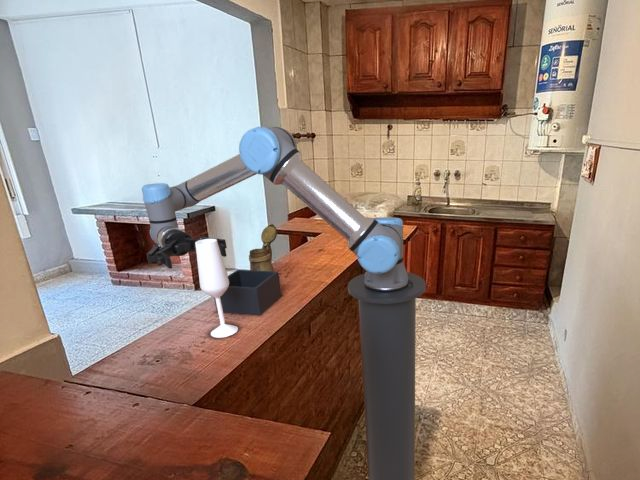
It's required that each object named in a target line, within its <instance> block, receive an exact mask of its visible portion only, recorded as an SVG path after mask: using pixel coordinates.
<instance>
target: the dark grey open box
mask: <svg viewBox="0 0 640 480" xmlns="http://www.w3.org/2000/svg"><path fill="white" fill-rule="evenodd" d="M227 276H228V279H229V286H228V288H227V290H226V291H225V292H224V294H223V295H222V296H220V299H221V304H222V309H223V313H228V314H242V315H254V316H261V315H263V313H265V312H266V311H267V310H268V309H269V308H270V307H271V306H272V305H273V304H274V303H276V301H278V300H279V299H280V298H281V297H282V288H281V282H280V273H279V271H275V270H274V271H254V270H250V269H237V270H235V271H233V272H231V273H230V274H229V275H227ZM213 298H214V304H215V309H216V313H218V310H217V305H216V300H215V297H213Z"/></svg>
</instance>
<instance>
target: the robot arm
mask: <svg viewBox="0 0 640 480" xmlns="http://www.w3.org/2000/svg"><path fill="white" fill-rule="evenodd" d="M238 152H239V153H238V154H236V155H234V156H232V157H231V158H229V159H226V160H225V161H223V162H220V163H219V164H216V165H215V166H212V167H210V168H209V169H207V170H205V171H202V172H201V173H198V174H197V175H195V176H193V177H191V178H189V179H188V180H185V181H183V182H180V183H179V184H177V185H174V186H170V185H169V184H168V183H164V182H155V183H148V184H143V186H142V187H141V193H142V201H143V203H144V207H145V211H146V214H147V218H148V222H149V235H150V238H151V239H152V241H153V243H155V244H153V245H152V248H151V249H150V250H149V251H148V252H146V258H147V262H148V263H147V264H149V265H152V264H154V263H155V262H156V264H157V266H163V265H164V266H165V267H167V268H168V269H169V270H170V269H173V263H172V260H171V257H183V256H185V255H188V253H190V252H196V245H195V242H197V241H199V240H203V239H216V240H217V242H218V246H219V249H220V252H221V256H222V258H223V257H224V258H225V257H227V251H226V249H227V248H228V247H227V242H226V239H223V238H214V237H207V236H203V235H201V236H199V238H192V237H191V236H190V235H189V234H188V233H187V232H186V231H183V230H182V229H180V227H179V224H178V220H177V215H176V212H179V211H181V210H183V209H187V208H191V207H194V206H196V205H197V204H199V203H200V202H203V201H204V200H206V199H209V198H210V197H213V196H214V195H216V194H219V193H220V192H223V191H225V190H227V189H229V188H231V187H233V186H235V185H237V184H240V183H242V182H243V181H245V180H248V179H250V178H251V177H254V176H256V175H261V176H264V177H265V178H266V179H267V180H268V181H269V182H271V183H272V184H273V185H275V186H279V185H282V186H284V187H285V188H286V189H287V190H289V192H290V193H292V194H293V195H294V196H295V197H296V198H297V199H299V201H301V202H302V203H303V204H304V205H306V206H307V208H309V209H310V210H311V211H312V212H314V213H315V214H316V215H317V216H318V217H320V219H321V220H323V221H324V222H325V223H326V224H327V225H328V226H330V227H331V228H332V229H333V230H334V231H335V232H337V233H338V234H339V235H340V236H341V237H343V238H344V239H345V240H346V242H347V249H349V251H351V252H352V253H353V254H354V255H355V256H356V257H357V261H358V263H359V265H360V266H361V268H362V269H363V270H365V272H364V274H365V280H364V284H365V287H366V288H368V289H369V290H372V291H376V292H395V291H399V290H402V289H404V288H406V287H407V286H408V285H409V283H410V284H411V285H412V284H413V282H412V281H410V280H409V278H408V275H407V272H408V271H407V268H406V266H405V264H404V263H405V262H404V220H403V219H402V218H400V217H393V216H392V217H391V216H384V217H383V216H381V217H379V216H378V217H370V218H367V217H365V216H364V214H362V213H361V212H360V211H359V210H358V209H356V208H355V206H353V205H352V204H351V203H350V202H349V201H347V199H345V198H344V196H342V195H341V194H340V193H339V192H337V191H336V190H335V189H334V188H333V187H332V186H331V185H330V184H328V183H327V182H326V181H325V180H324V179H323V178H322V177H321V176H320V175H318V174H317V173H316V172H315V171H314V170H313V169H311V168H310V167H309V166H308V165H307V164H306V163H305V162H304V161H303V157H302V152H301V151H300V150H298V145H297V141H296V139H295V138H294V136H293V134H292V133H291V132H289V130H287V129H285V128H282V127H280V126H256V127H254V128H250V129H249V130H247V131H246V132H245V133H244V134H243V135H242V136H241V138H240V141H239V145H238Z"/></svg>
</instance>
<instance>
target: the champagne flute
mask: <svg viewBox="0 0 640 480" xmlns="http://www.w3.org/2000/svg"><path fill="white" fill-rule="evenodd" d="M216 239H217V238H216ZM216 239H203V240H200V239H198V240H199V241H197V242H195V245H196V251H195V253H196V261H197V262H196V263H197V271H198V279H199V287H200V290H201V291H202V292H204V293H205V294H206V295H208V296H209V297H211V298H214V297H215V300H216V304H215V306H216V305H217V309H216V311H217V310H218V312H217V313H218V314H217V315H218V318H219V323H220V324H219V325H218V326H217V327H215V328H214V329H213V330H212V331H210V336H211V337H213V338H218V339H221V338H227V337H230V336H232V335H234V334H236V333H237V332H238V330H239V328H238V326H236V325H233V324H229V323H228V324H227V323H226V320H225V315H224V312H223V309H222V304H221V299H220V296H222V295H223V294H224V292H225V291H226V290H227V288H228V286H229V279H228V276H229V275H228V272H227V270H226V266H225V263H224V259H223V256H222V255H221V252H220V249H219V246H218V242H217V240H216ZM215 300H214V301H215Z"/></svg>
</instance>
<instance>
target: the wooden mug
mask: <svg viewBox="0 0 640 480" xmlns="http://www.w3.org/2000/svg"><path fill="white" fill-rule="evenodd" d="M277 236H278V229H277V227H276V226H275V224H273V223H271V224H269V225H267V226H266V227H265V228H264V229H263V230H262V231H261V236H260V238H261V242H262V243H263V244H262V247H261V248H253V249H251V250H249V254H248V261H249V270H254V271H275V269H274V266H273V263H272V259H273V250H272V246H271V244H273V242H274V241H275V240H276V238H277Z"/></svg>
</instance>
